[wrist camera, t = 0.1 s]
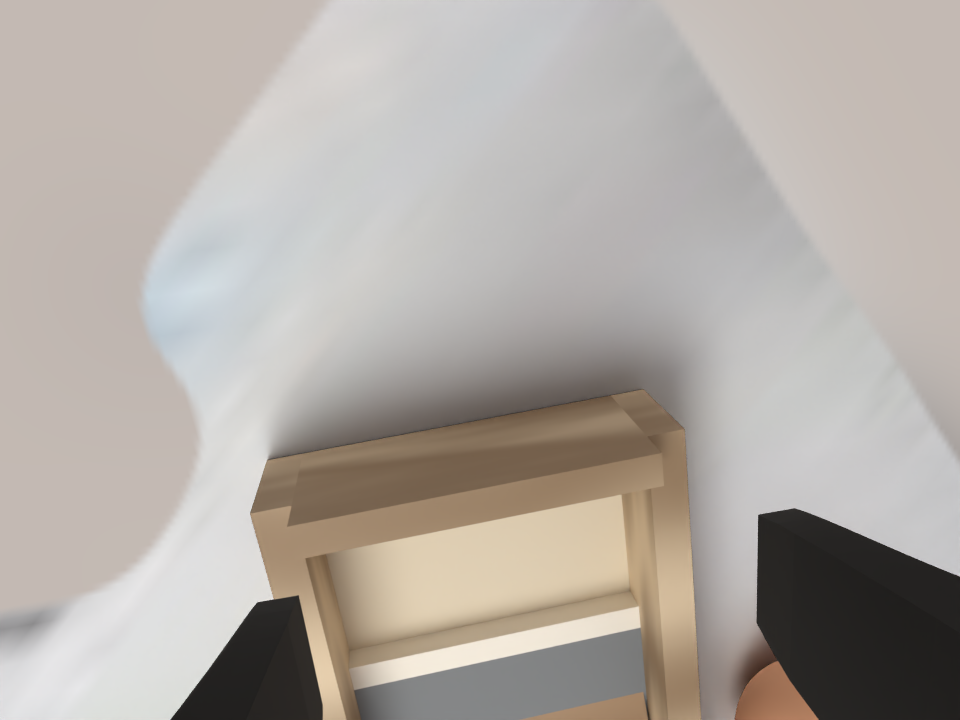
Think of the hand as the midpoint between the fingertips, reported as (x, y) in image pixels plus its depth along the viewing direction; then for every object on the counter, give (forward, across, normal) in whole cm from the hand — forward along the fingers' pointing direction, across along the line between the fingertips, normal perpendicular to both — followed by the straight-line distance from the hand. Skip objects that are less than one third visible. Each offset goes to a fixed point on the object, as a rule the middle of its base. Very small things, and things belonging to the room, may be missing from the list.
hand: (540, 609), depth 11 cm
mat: (+10, 0, +10) cm, 14 cm away
